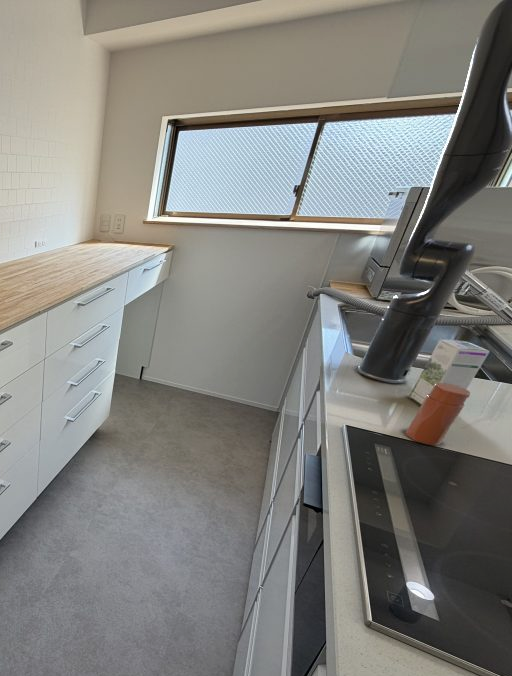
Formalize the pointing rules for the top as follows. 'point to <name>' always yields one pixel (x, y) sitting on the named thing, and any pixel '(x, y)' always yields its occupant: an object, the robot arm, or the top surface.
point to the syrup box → (449, 367)
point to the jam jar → (437, 413)
